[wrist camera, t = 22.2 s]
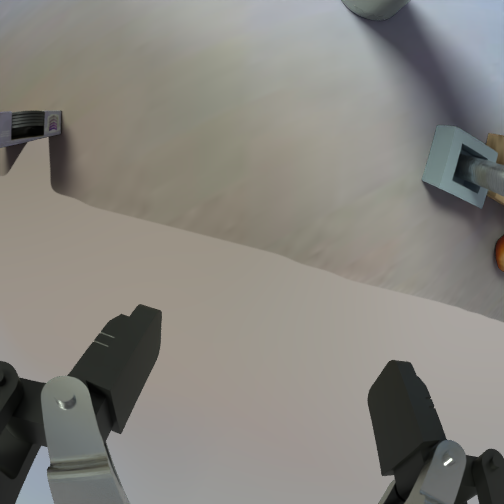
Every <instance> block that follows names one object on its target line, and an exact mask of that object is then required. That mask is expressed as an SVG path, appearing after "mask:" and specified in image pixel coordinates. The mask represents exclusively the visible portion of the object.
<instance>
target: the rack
mask: <svg viewBox="0 0 504 504" xmlns="http://www.w3.org/2000/svg"><path fill="white" fill-rule="evenodd" d="M459 154H464V155H468V156H472V157H476V158H480V159H484V160H487V161H491V162H494V163H496V160H497V156H498V153H497V152H496V151H494V150H493V149H492V148H490V147H489V146H487V145H486V144H484V143H482V142H481V141H479V140H478V139H476V138H475V137H473V136H471V135H470V134H468V133H466V132H465V131H463V130H461V129H460V128H458V127H456V126H445V125H437V127H436V131H435V135H434V139H433V143H432V146H431V150H430V154H429V157H428V161H427V164H426V168H425V171H424V174H423V177H422V181H424V182H427V183H429V184H431V185H433V186H435V187H438V188H440V189H442V190H444V191H446V192H448V193H450V194H453V195H455V196H457V197H459V198H461V199H463V200H465V201H467V202H469V203H471V204H473V205H475V206H477V207H479V208H480V209H482V207H483V204H484V201H485V198H486V195H487V192H488V189H485V188H483V187H481V186H478V185H476V184H473V183H471V182H468V181H466V180H463V179H461V178H458V177H455V176H453V175H454V172H455V169H456V165H457V162H458V158H459Z"/></svg>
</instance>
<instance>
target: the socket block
mask: <svg viewBox="0 0 504 504" xmlns="http://www.w3.org/2000/svg"><path fill="white" fill-rule="evenodd" d="M486 145H487V146H489V147H490V148H492V149H493V150H494V151H496V152H497V153H498V156H497V160H496V163H498V164H501V165H504V136H503V135H497V134H490V133H488V138H487V142H486ZM486 196H488V197H490V198H492V199H493V200H495V201H497V202H498V203H500V204H502V205H503V206H504V197H503V196H501V195H499V194H497V193H494V192H492V191H490V190H488V192H487V195H486Z"/></svg>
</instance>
